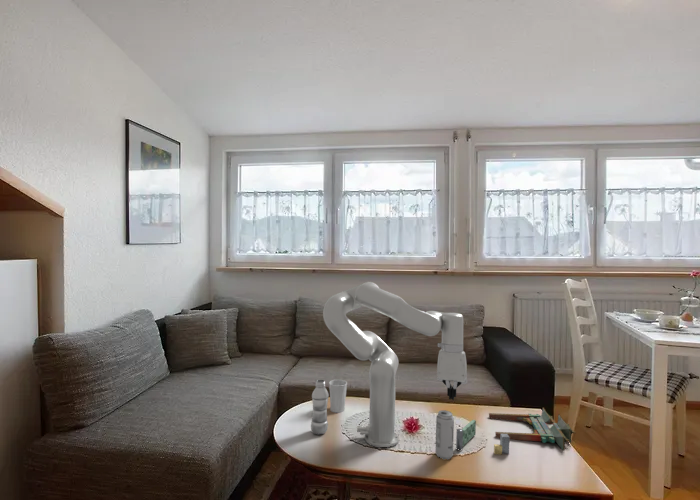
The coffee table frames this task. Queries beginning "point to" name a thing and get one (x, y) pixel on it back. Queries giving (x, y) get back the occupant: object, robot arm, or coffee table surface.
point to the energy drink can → (444, 434)
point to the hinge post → (459, 439)
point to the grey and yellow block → (502, 445)
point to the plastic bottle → (319, 408)
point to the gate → (469, 431)
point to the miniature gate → (538, 428)
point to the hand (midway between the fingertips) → (451, 398)
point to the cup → (337, 395)
